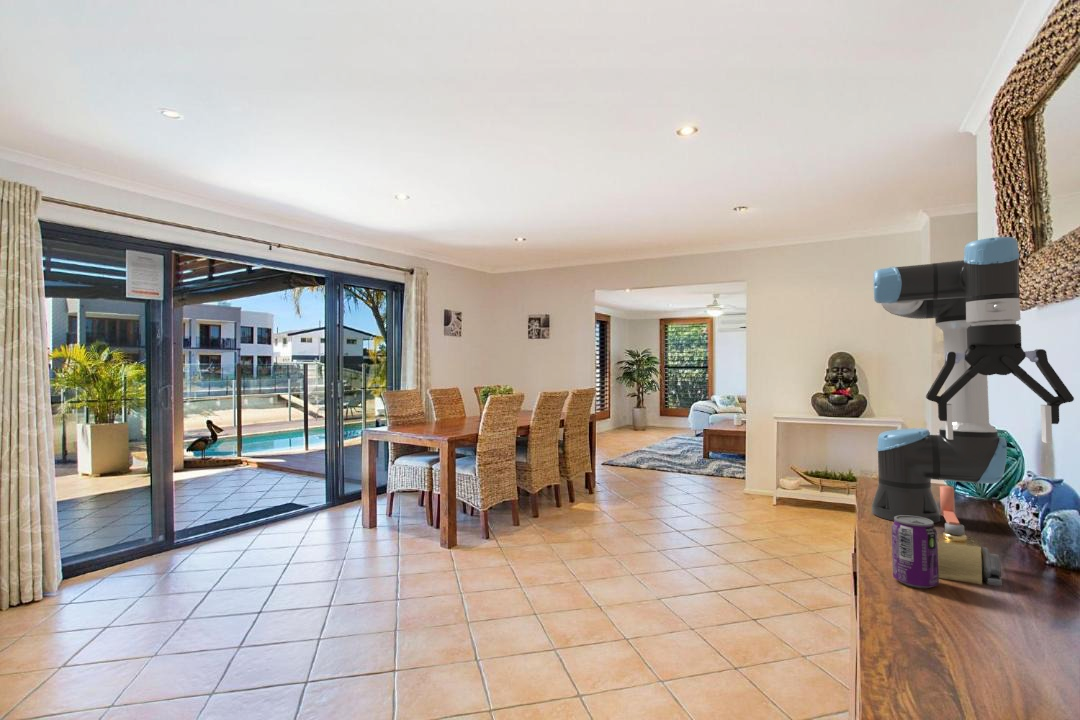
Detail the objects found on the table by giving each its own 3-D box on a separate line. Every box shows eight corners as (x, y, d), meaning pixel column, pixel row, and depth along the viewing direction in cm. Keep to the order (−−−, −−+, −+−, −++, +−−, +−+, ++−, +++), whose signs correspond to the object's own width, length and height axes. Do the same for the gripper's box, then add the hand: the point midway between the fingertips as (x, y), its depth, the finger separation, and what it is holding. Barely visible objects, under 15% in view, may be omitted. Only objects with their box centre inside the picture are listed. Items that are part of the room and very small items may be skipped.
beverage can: (947, 592, 96) (945, 526, 96) (903, 589, 97) (901, 524, 97) (926, 576, 103) (924, 514, 103) (886, 574, 104) (884, 513, 104)
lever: (965, 535, 101) (964, 500, 101) (946, 533, 103) (944, 498, 103) (956, 518, 112) (955, 486, 112) (938, 516, 113) (937, 485, 113)
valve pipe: (914, 563, 109) (912, 525, 109) (995, 575, 102) (994, 534, 102) (916, 574, 104) (915, 533, 104) (1003, 587, 97) (1001, 544, 97)
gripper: (911, 327, 99) (914, 439, 99) (1096, 318, 86) (1100, 447, 86) (907, 328, 106) (911, 434, 106) (1080, 320, 93) (1083, 441, 93)
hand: (996, 440), depth 96 cm, fingers open, 13 cm apart
